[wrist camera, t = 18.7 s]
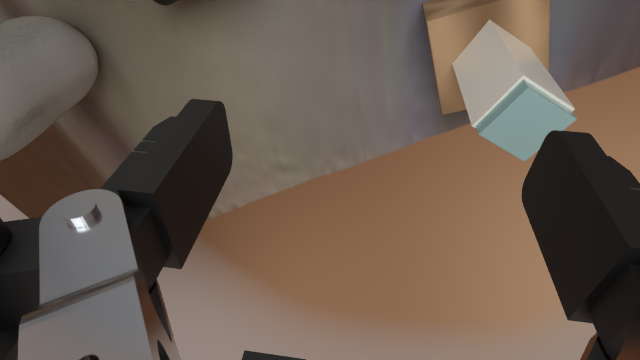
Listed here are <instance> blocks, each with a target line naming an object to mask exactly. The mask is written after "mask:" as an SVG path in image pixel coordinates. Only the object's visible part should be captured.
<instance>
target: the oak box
mask: <svg viewBox="0 0 640 360" xmlns="http://www.w3.org/2000/svg"><path fill="white" fill-rule="evenodd" d="M422 4H423V10H424V16H425V22H426V27H427V33H428V39H429V45H430V51H431V57H432V63H433V69H434V74H435V80H436V86H437V92H438V96H439V101H440V106H441V110H442V115H444V114H448V113H453V112H458V111H462V110H467V109H466V106H465V103H464V100H463V96H462V93H461V90H460V87H459V84H458V80H457V77H456V74H455V71H454V68H453V65H452V63H453V62H454V61H455V60H456V59H457V57H458V56H459V55H460V54H461V53H462V51H463V50H464V49H465V48H466V47H467V46H468V44H469V43H470V42H471V41H472V40H473V38H474V37H475V36H476V35H477V34H478V32H479V31H480V30H481V29H482V28H483V27H484V25H485V24H486V23H487V22H488V21H489V19H490V20H491V21H493V22H494V23H495V24H497V25H498V26H500V27H501V28H503V29H504V30H506V31H507V32H509V33H510V34H512V35H513V36H515V37H516V38H518V39H519V40H520V41H522V42H523V43H525V44H526V45H528V46H529V47H530V48H531V49H532V50H533V52H534V53H535V55H536V56H537V57H538V59H539V60H540V61H541V63H542V64H543V66H544V67H545V68H546V70H547V71H548V72H549V27H550V0H431V1H428V2H425V3H422Z"/></svg>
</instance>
